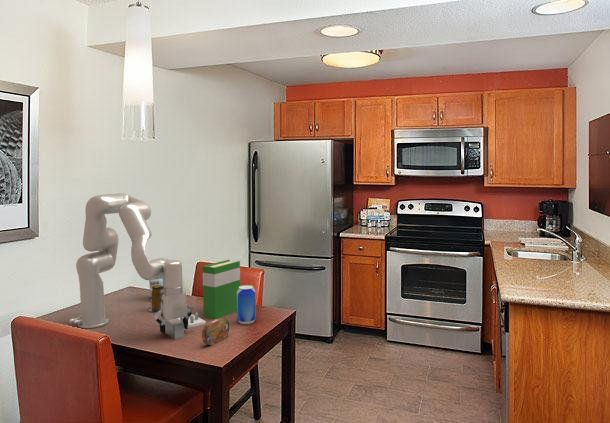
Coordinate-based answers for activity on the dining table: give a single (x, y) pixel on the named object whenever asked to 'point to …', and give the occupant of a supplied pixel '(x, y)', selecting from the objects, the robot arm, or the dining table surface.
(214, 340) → the tin
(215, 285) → the hardback book
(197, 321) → the white peg board
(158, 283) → the beverage bottle
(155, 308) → the condiment
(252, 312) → the beer can
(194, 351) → the dining table surface
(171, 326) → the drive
